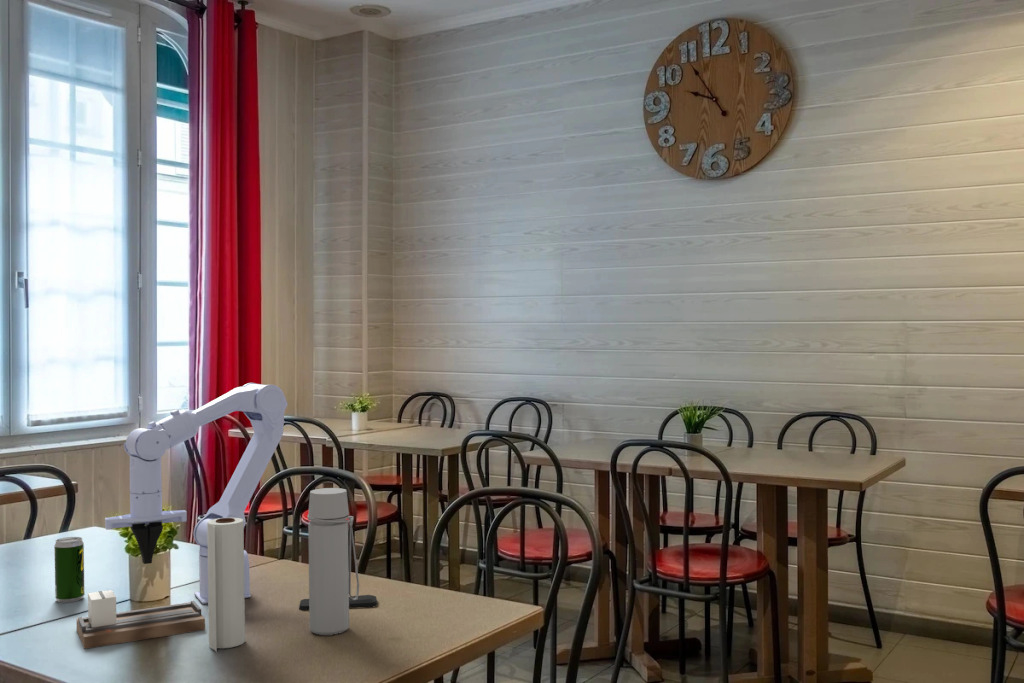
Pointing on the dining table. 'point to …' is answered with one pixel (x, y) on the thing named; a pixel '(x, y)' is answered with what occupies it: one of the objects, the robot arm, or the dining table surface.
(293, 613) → the dining table surface
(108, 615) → the fader knob
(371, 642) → the dining table surface
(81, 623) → the console
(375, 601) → the remote control
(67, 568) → the beer can
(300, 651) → the dining table surface
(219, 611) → the paper towel roll
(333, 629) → the water bottle
